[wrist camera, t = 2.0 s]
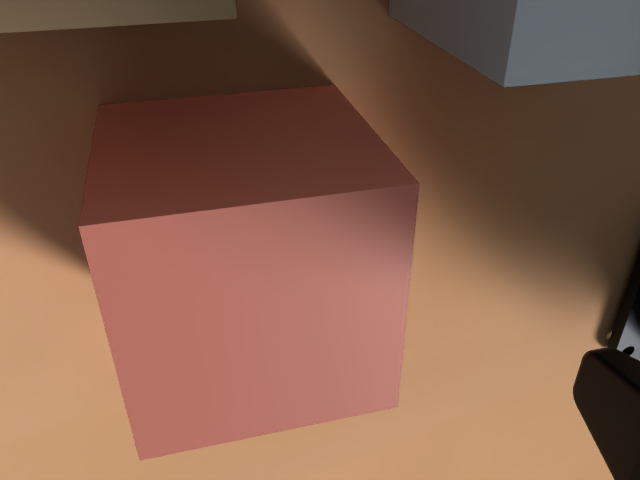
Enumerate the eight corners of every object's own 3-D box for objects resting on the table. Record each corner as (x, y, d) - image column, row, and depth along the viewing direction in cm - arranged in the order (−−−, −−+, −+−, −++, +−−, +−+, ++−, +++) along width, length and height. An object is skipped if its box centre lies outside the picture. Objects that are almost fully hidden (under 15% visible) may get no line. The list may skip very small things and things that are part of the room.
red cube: (331, 266, 16) (398, 407, 12) (139, 296, 15) (139, 460, 11) (333, 83, 13) (419, 183, 9) (98, 103, 12) (78, 226, 8)
